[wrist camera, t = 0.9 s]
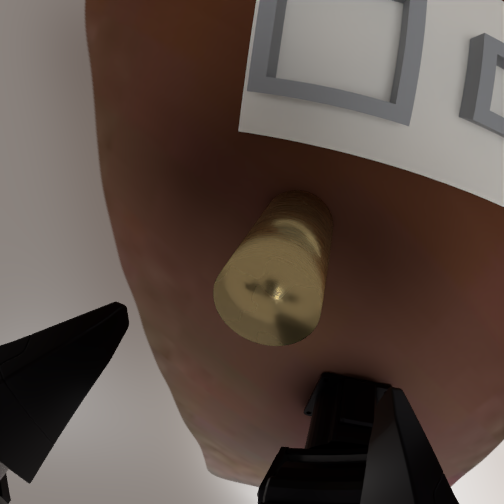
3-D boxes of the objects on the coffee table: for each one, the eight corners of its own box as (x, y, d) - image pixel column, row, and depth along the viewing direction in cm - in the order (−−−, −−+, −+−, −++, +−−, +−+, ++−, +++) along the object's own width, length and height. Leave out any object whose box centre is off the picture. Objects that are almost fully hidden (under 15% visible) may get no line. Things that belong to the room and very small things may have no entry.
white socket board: (522, 212, 13) (544, 232, 11) (243, 129, 16) (224, 135, 14) (553, 42, 7) (579, 39, 5) (270, -54, 10) (256, -76, 8)
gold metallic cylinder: (323, 262, 19) (305, 356, 12) (259, 246, 20) (210, 328, 13) (340, 200, 17) (334, 274, 10) (269, 183, 18) (216, 244, 11)
